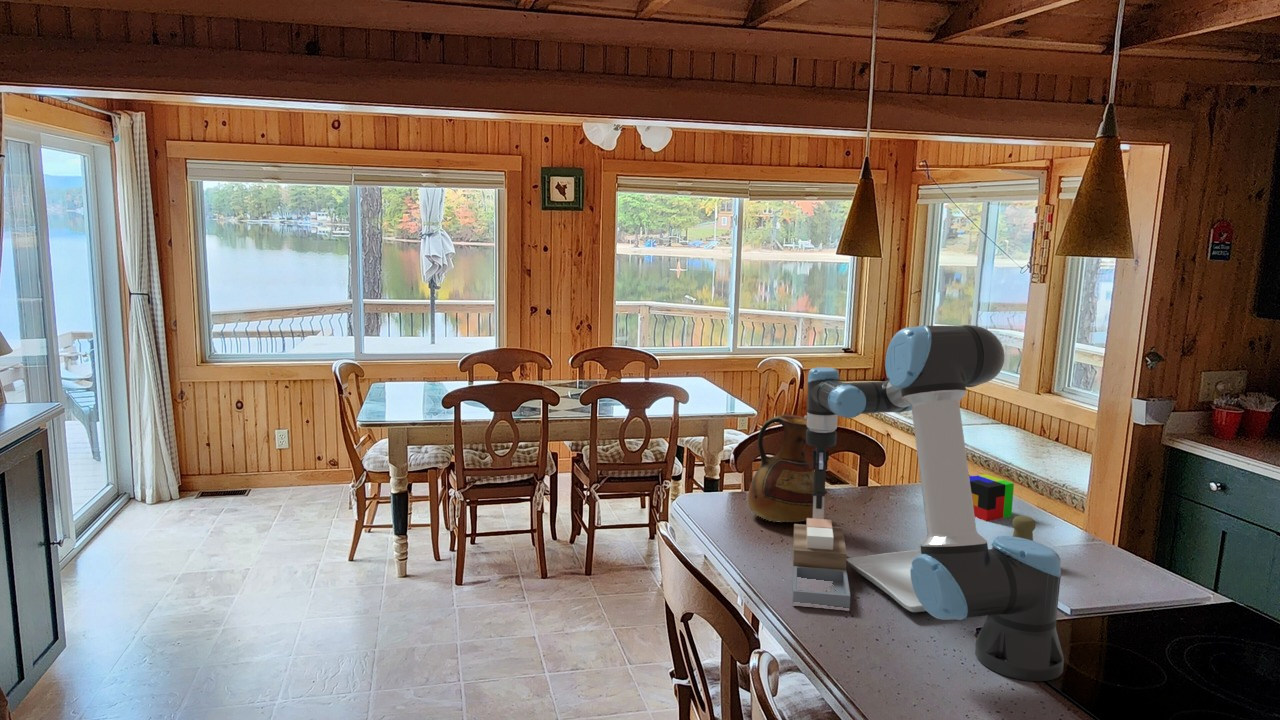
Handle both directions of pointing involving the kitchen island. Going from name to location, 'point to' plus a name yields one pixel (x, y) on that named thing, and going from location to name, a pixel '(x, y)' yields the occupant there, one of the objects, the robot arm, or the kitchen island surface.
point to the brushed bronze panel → (819, 551)
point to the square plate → (891, 575)
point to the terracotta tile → (818, 523)
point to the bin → (823, 598)
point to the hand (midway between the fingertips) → (818, 519)
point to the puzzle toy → (991, 497)
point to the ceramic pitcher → (784, 476)
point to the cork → (1023, 527)
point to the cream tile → (820, 538)
